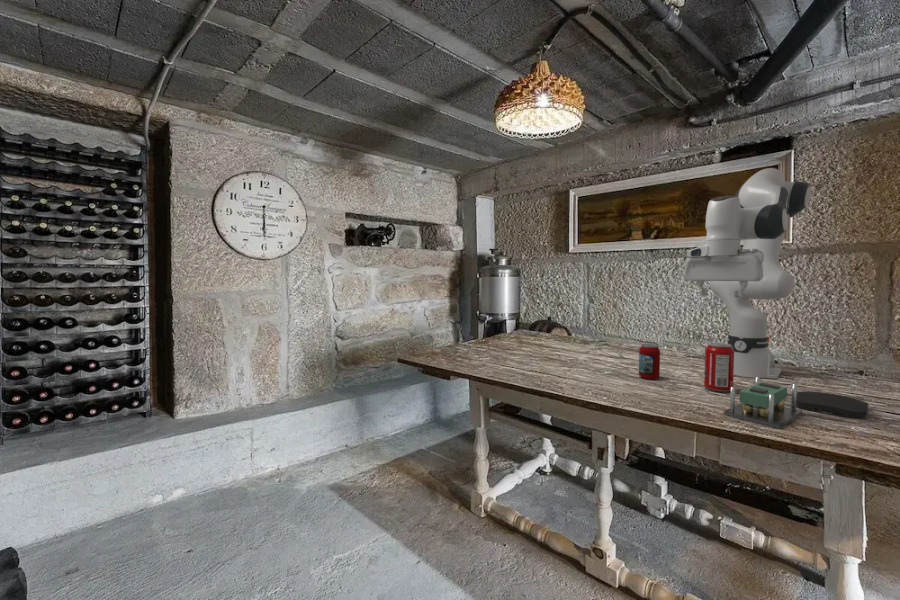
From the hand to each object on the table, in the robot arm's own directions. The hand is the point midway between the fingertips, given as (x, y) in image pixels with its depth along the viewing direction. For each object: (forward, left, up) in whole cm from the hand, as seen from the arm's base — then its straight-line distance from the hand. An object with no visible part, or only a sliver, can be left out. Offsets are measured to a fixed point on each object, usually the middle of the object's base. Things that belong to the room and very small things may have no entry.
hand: (720, 296), depth 120 cm
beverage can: (-4, -24, -31) cm, 40 cm away
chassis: (+7, +14, -31) cm, 35 cm away
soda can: (-8, -3, -31) cm, 32 cm away
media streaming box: (-14, +23, -32) cm, 41 cm away
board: (+7, +14, -27) cm, 31 cm away
